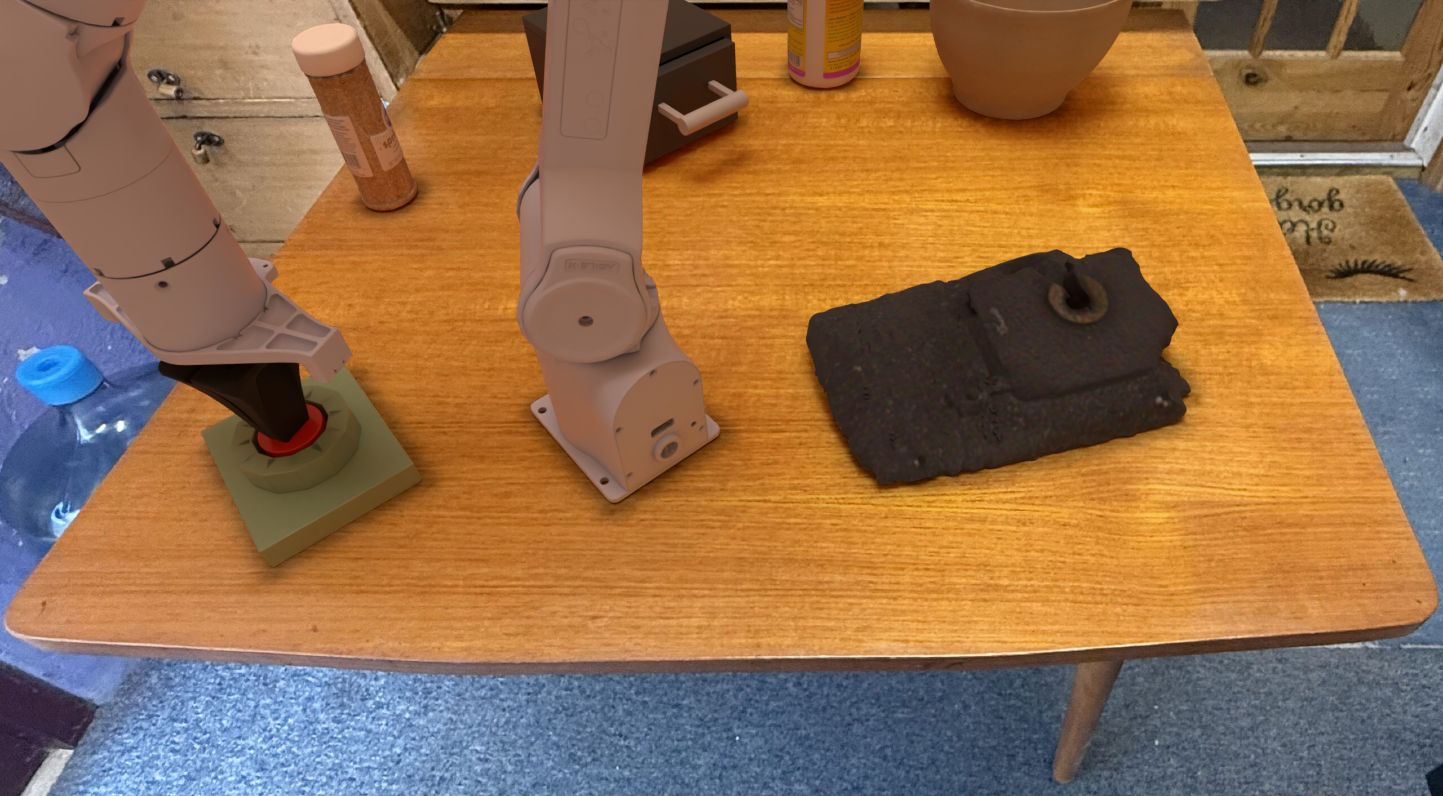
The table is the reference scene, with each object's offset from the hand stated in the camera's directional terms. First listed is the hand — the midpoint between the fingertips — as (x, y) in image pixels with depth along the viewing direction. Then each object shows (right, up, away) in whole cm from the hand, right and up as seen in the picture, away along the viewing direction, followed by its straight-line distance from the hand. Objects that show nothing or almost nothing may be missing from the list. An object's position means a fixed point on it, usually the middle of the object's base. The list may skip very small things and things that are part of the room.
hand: (289, 427), depth 47 cm
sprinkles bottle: (-2, +18, +21) cm, 28 cm away
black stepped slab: (+41, +4, +5) cm, 42 cm away
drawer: (+20, +25, +24) cm, 40 cm away
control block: (0, -2, +3) cm, 3 cm away
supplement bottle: (+34, +32, +30) cm, 56 cm away
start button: (0, -1, +1) cm, 2 cm away
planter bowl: (+50, +28, +26) cm, 63 cm away
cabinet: (+17, +27, +27) cm, 42 cm away
